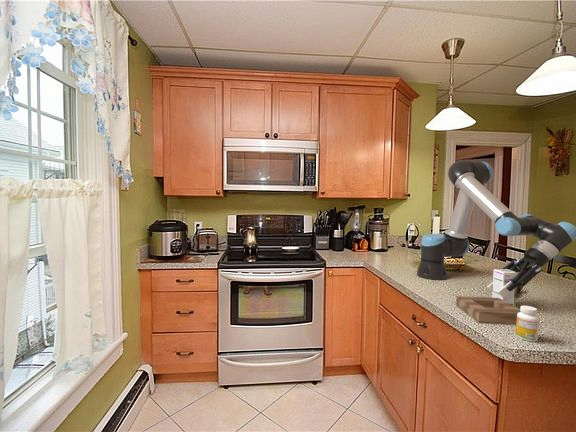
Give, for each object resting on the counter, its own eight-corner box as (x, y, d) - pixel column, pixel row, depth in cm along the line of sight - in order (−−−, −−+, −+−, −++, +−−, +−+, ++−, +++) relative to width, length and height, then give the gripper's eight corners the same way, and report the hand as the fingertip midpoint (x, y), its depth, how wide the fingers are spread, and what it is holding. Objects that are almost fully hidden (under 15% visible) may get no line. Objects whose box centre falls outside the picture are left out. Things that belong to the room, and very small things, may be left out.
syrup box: (501, 307, 116) (504, 272, 115) (491, 302, 122) (493, 268, 121) (515, 307, 116) (518, 272, 115) (504, 302, 122) (506, 268, 121)
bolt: (504, 301, 129) (513, 293, 138) (517, 299, 125) (524, 290, 135) (497, 289, 130) (506, 281, 140) (509, 286, 127) (517, 278, 137)
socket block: (456, 305, 118) (456, 296, 118) (497, 307, 117) (498, 297, 116) (478, 322, 102) (479, 311, 102) (526, 324, 101) (527, 313, 100)
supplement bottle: (521, 332, 95) (523, 303, 94) (541, 340, 90) (543, 309, 89) (511, 335, 93) (513, 305, 92) (531, 343, 88) (533, 312, 87)
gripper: (516, 243, 126) (475, 278, 129) (553, 251, 107) (503, 292, 110) (529, 255, 126) (487, 291, 129) (567, 266, 107) (517, 307, 110)
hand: (494, 291), depth 119 cm, fingers closed on syrup box, 6 cm apart
